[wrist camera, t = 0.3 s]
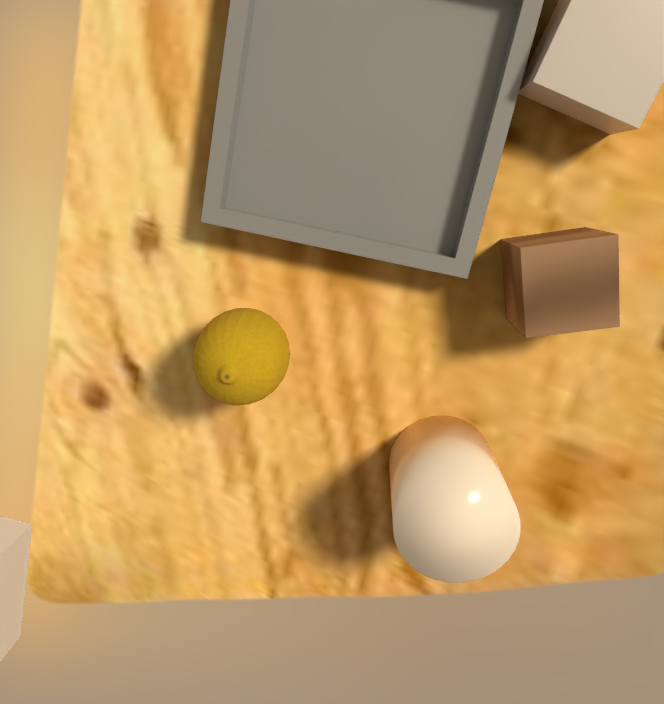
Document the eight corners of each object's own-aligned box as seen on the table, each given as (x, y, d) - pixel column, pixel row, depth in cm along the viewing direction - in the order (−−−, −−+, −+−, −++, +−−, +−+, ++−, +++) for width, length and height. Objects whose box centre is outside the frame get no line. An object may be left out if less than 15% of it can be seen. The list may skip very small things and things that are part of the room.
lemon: (282, 389, 39) (260, 439, 31) (204, 361, 39) (163, 404, 31) (308, 314, 38) (292, 347, 30) (228, 284, 37) (190, 311, 30)
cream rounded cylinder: (402, 405, 39) (409, 460, 31) (504, 427, 39) (536, 488, 31) (379, 496, 41) (380, 568, 33) (476, 516, 41) (500, 594, 33)
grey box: (584, -57, 31) (613, -91, 27) (684, -11, 31) (727, -39, 27) (514, 93, 33) (533, 81, 29) (608, 134, 34) (638, 128, 30)
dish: (252, -74, 32) (242, -94, 29) (538, -14, 32) (552, -30, 29) (211, 219, 36) (200, 221, 34) (461, 272, 36) (467, 278, 34)
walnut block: (500, 239, 35) (520, 248, 31) (584, 227, 35) (618, 234, 30) (506, 317, 37) (525, 338, 32) (587, 307, 36) (619, 326, 32)
